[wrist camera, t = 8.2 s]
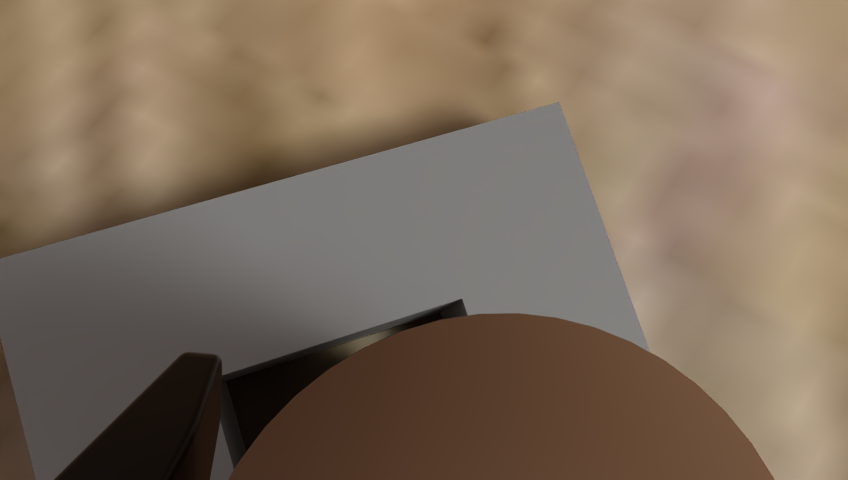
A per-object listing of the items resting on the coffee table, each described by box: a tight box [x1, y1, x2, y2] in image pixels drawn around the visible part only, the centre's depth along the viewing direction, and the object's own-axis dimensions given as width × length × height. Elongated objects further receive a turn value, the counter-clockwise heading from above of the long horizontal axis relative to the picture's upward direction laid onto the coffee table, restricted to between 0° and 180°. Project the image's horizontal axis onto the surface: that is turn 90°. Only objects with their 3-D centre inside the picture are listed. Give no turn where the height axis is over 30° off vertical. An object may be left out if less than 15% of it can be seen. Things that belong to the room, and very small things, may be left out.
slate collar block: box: [0, 102, 650, 480], centre depth 17 cm, size 12×12×3 cm
